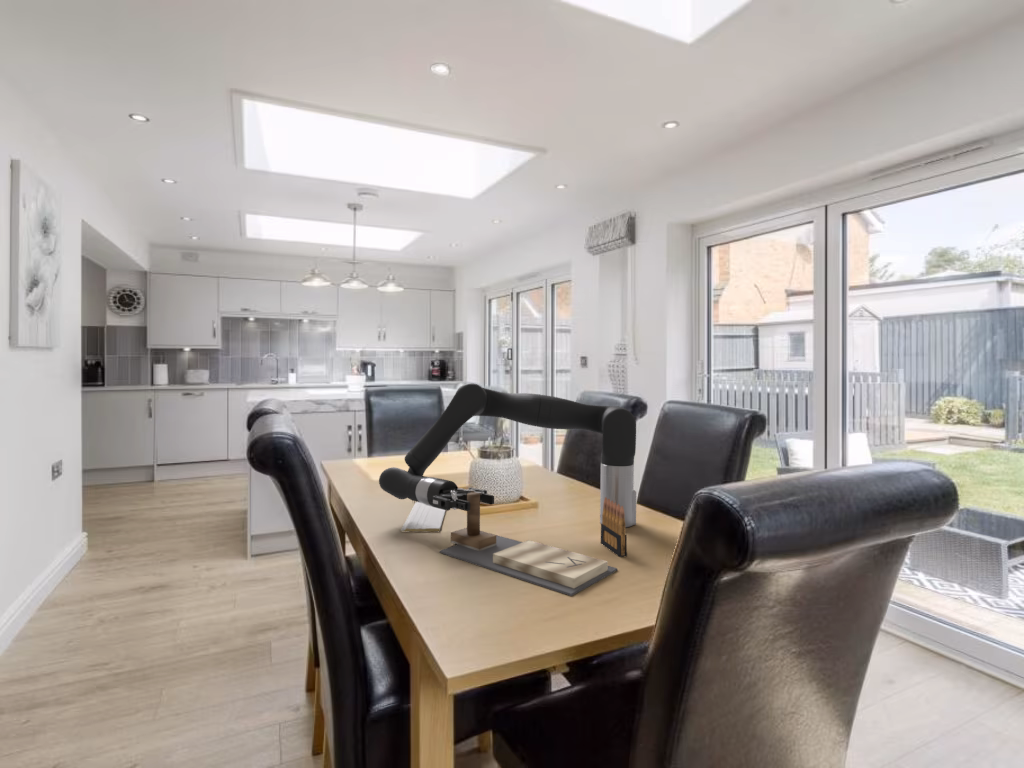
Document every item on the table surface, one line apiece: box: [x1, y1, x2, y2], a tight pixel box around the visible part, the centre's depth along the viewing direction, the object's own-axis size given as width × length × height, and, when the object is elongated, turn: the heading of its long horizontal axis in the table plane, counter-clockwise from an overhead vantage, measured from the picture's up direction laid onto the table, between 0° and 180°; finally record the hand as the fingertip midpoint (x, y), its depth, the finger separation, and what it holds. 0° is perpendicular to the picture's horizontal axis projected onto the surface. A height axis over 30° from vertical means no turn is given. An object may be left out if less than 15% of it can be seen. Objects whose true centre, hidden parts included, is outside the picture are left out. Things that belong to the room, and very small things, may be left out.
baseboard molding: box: [400, 500, 447, 532], centre depth 166 cm, size 31×3×12 cm
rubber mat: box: [439, 532, 618, 597], centre depth 129 cm, size 38×18×1 cm, turn 50°
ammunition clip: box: [600, 497, 628, 558], centre depth 137 cm, size 11×2×12 cm, turn 16°
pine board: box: [493, 539, 609, 588], centre depth 124 cm, size 22×13×2 cm, turn 50°
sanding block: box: [450, 492, 497, 551], centre depth 139 cm, size 10×6×12 cm, turn 49°
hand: (481, 503), depth 137 cm, fingers open, 8 cm apart
